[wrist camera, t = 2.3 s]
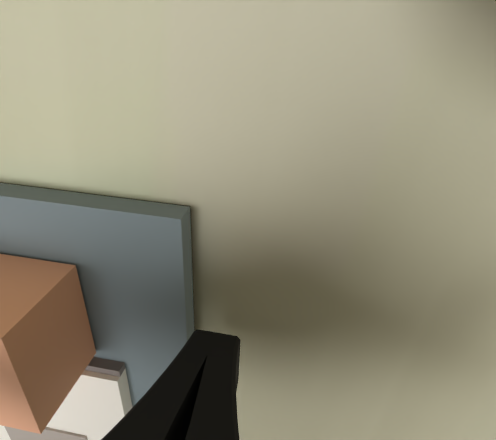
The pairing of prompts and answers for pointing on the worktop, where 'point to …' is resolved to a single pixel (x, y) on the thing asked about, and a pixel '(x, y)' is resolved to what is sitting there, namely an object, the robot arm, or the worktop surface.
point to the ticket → (86, 406)
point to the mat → (113, 269)
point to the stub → (40, 339)
